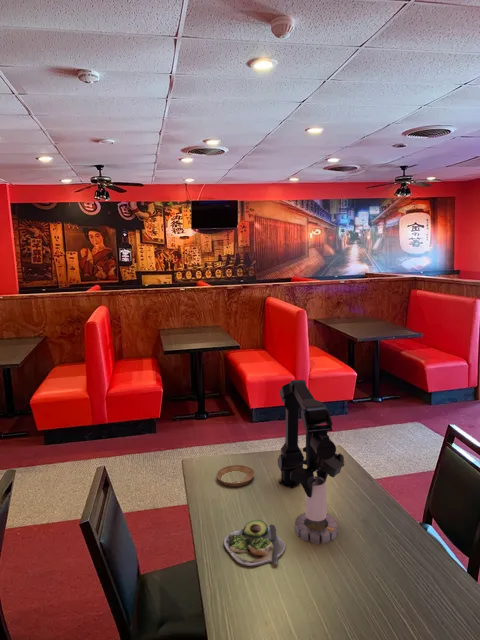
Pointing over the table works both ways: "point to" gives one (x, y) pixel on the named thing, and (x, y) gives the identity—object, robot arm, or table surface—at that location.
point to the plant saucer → (241, 468)
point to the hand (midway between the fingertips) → (315, 492)
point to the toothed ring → (316, 535)
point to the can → (316, 501)
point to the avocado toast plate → (255, 543)
